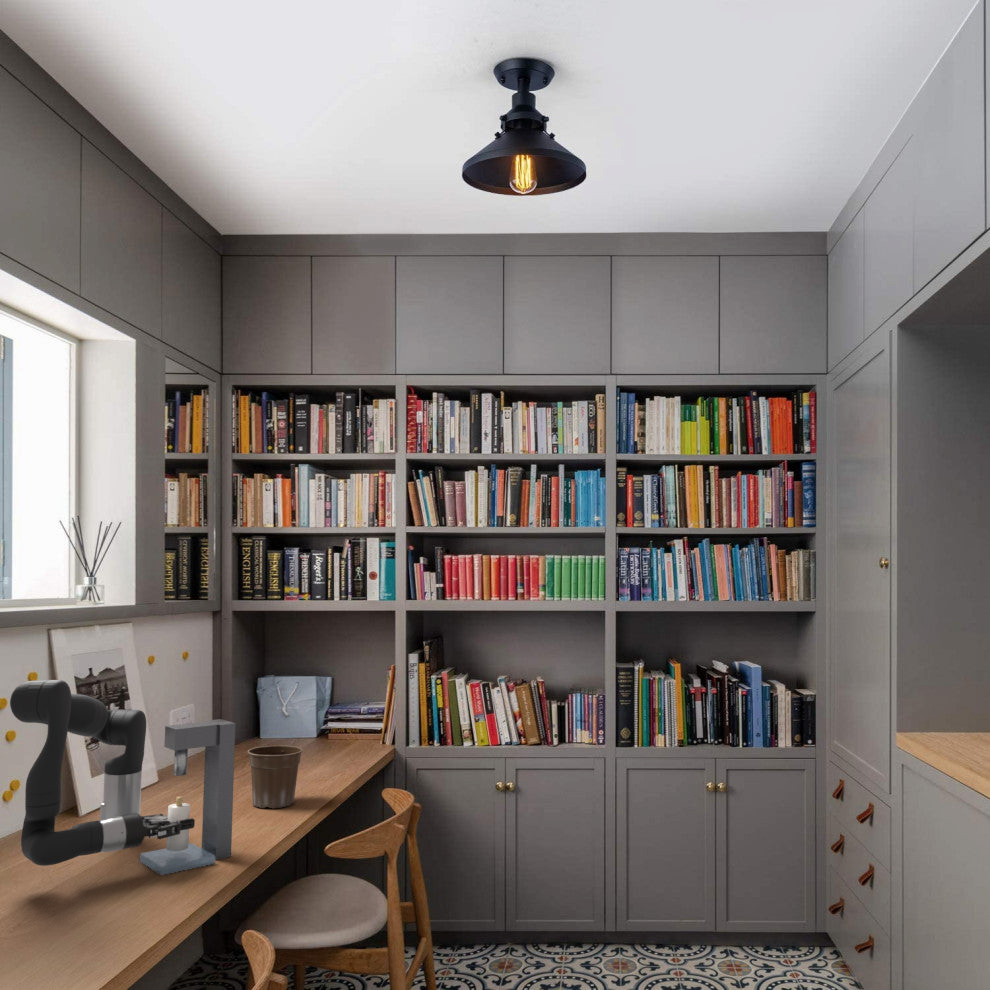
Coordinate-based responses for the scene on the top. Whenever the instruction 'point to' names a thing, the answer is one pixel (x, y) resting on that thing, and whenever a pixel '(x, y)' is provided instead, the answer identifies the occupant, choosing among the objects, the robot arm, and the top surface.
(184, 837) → the white cylinder
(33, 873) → the top surface
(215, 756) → the press
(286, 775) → the plant pot
